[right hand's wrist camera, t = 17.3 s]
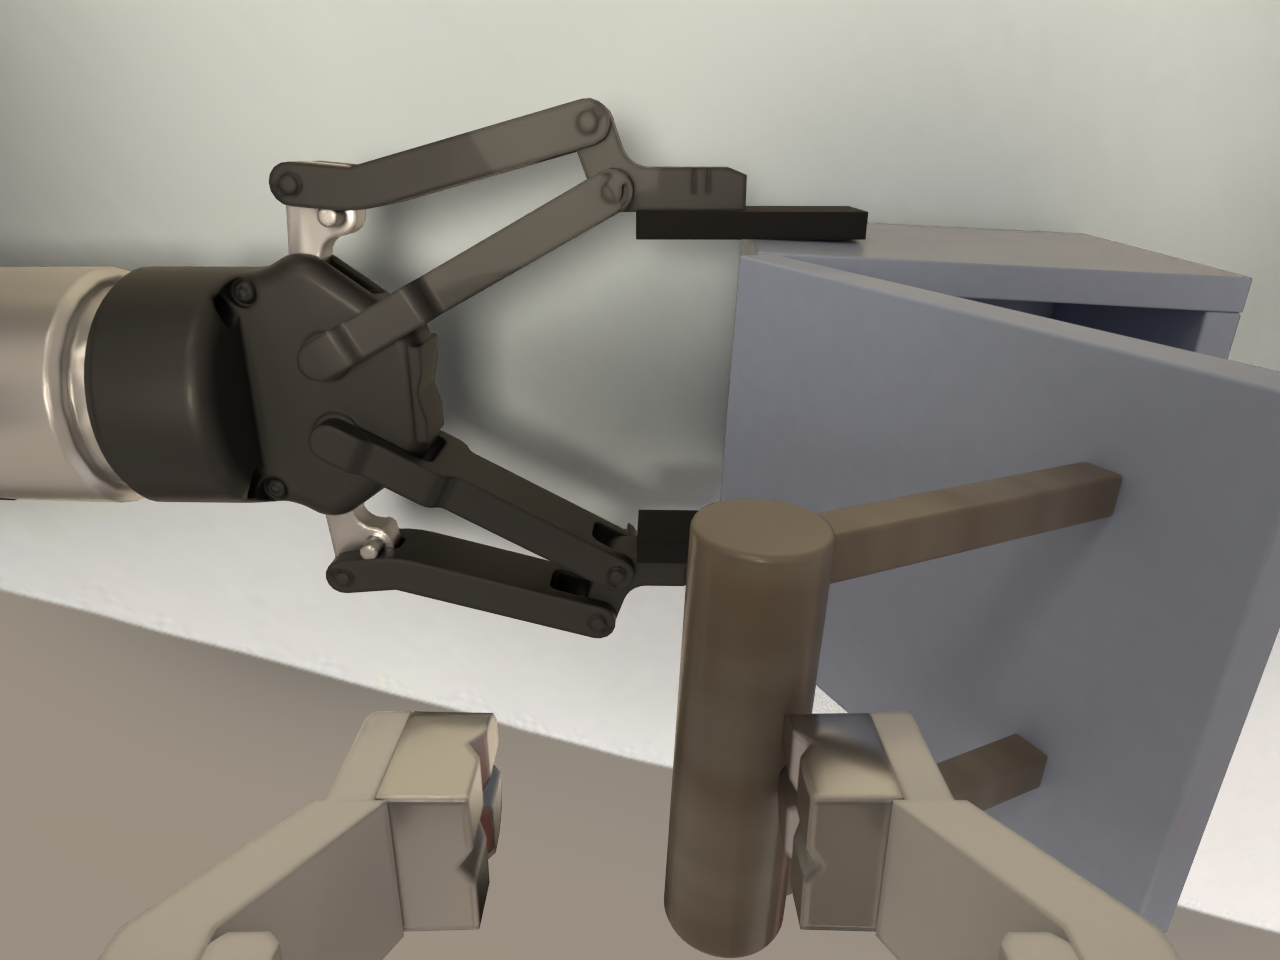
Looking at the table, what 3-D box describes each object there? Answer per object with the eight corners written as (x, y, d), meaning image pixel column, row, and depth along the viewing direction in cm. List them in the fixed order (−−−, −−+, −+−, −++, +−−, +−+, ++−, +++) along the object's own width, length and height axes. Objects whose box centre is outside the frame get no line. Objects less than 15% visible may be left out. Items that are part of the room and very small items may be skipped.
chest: (1085, 233, 31) (1254, 277, 21) (1029, 478, 34) (1152, 612, 25) (743, 216, 31) (756, 251, 22) (723, 458, 35) (726, 580, 25)
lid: (1370, 391, 11) (864, 482, 7) (1168, 933, 14) (759, 1175, 11) (776, 254, 21) (447, 262, 18) (743, 586, 25) (463, 651, 21)
